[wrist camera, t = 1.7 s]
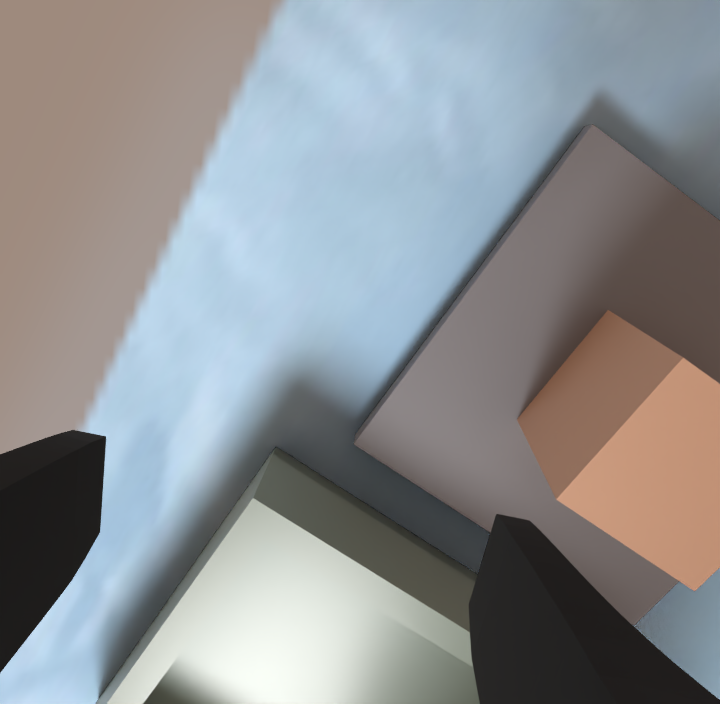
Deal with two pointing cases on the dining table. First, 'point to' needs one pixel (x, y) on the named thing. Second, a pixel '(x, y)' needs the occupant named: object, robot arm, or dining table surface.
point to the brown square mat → (553, 348)
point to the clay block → (635, 447)
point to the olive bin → (307, 608)
